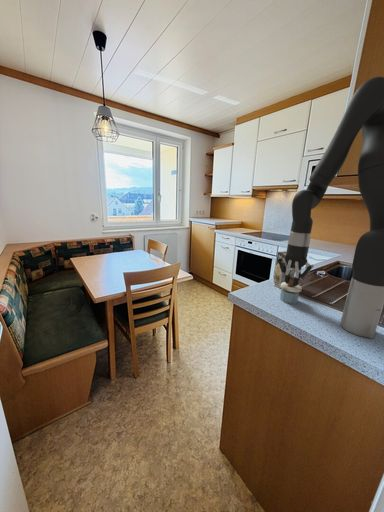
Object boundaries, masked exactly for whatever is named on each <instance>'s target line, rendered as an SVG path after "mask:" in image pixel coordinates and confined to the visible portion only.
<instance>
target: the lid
mask: <svg viewBox="0 0 384 512" xmlns="http://www.w3.org/2000/svg"><path fill="white" fill-rule="evenodd" d="M294 279H295V276H294V277H289V281H288V284H286V282H283V283H281V286H280V287H281V288H282V289H283V290H286V291H289V292H299V293H300V292H302V289H303V288H302V286H301V285H300V284H298V285H297V286H293V285H294ZM281 288H280V289H281Z"/></svg>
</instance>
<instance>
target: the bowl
mask: <svg viewBox="0 0 384 512" xmlns="http://www.w3.org/2000/svg"><path fill="white" fill-rule="evenodd" d="M280 289H281V290H280V297H279V300H281V301H282V302H283V303H286V304H288V305H289V304H290V305H296V304H297V303H298V301H299V295H300V292H289V291H286V290H283V289H282V288H280Z"/></svg>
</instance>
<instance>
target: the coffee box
mask: <svg viewBox="0 0 384 512" xmlns="http://www.w3.org/2000/svg"><path fill="white" fill-rule="evenodd" d="M286 252H287V251H277V254H276V262H275V269H274V273H273V274H274V275H273V283H274V284H275V286H277V288H278V289H281V287H280V286H281V283H283V282H285V276H286V274H285V273H282V272H281V268H280V265H279V262H278V259H280V258H285V256H286ZM285 266H286V268H287V263H286V261H285ZM295 274H296V272H295V269H294V268H293V269H292V270H291V273H290V275H291V277H294V278H295Z"/></svg>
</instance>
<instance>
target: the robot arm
mask: <svg viewBox="0 0 384 512" xmlns="http://www.w3.org/2000/svg"><path fill="white" fill-rule="evenodd" d="M360 131H361V134H362V135H361V136H362V146H361V152H360V153H359V154H360V155H359V158H358V165H357V180H358V190H359V193H360V196H361V198H362V201H363V202H364V205H365V207H366V209H367V212H368V216H369V217H368V218H369V231H367V232H364V234H362V235H361V236H360V237H359V238H358V240H357V243H356V246H355V250H354V254H353V260H352V265H351V270H352V276H351V279H350V283H349V288H348V291H347V295H346V299H345V303H344V308H343V311H342V314H341V317H340V323H339V325H340V327H341V328H342V329H344V330H345V331H347V332H349V333H351V334H353V335H355V336H359V337H363V338H369V339H374V337H375V334H376V331H377V328H378V325H379V321H380V318H381V314H382V312H383V309H384V76H374V77H372V78H369V79H367V80H366V81H365V82H363V83H362V84H361V85H360V86H359V87H358V88H357V89H356V90H355V92H354V93H353V95H352V97H351V99H350V100H349V103H348V105H347V108H346V109H345V112H344V114H343V116H342V118H341V121H340V122H339V125H338V127H337V129H336V131H335V133H334V135H333V137H332V139H331V140H330V142H329V145H328V147H327V148H326V150H325V152H324V153H323V155H322V156H321V158H320V159H319V161H318V163H317V164H316V165H315V166H314V167H315V168H314V169H313V170H312V172H311V174H310V176H309V183H308V186H307V187H306V189H304V190H299V191H298V192H297V193H295V195H294V197H293V198H292V203H291V215H292V222H291V228H290V233H289V236H288V240H287V248H286V251H285V252H286V256H285V258H280V259H278V262H279V265H280V268H281V272H282V273H285V274H286V276H285V282H286V284H288V281H289V277H291V275H290V273H291V270H292V269H293V268H294V269H295V274H294V278H295V279H294V285H293V286H297V285H300V280H301V279H304V278H305V277H306V276H308V274H309V273H310V272H311V271H312V270H313V269H314V267H315V266H314V264H310V263H309V262H308V253H309V250H310V249H309V248H310V243H311V235H312V229H313V223H314V222H313V221H314V220H313V218H312V217H311V216H312V210H313V209H315V208H316V207H317V206H318V205H319V204H320V203H321V202H322V199H323V197H324V196H325V194H326V192H327V189H328V187H329V186H330V184H331V183H332V181H333V180H334V179H335V177H336V175H337V174H338V173H339V172H340V170H341V169H342V167H343V165H344V163H345V161H346V159H347V157H348V154H349V152H350V150H351V147H352V145H353V144H354V140H355V139H356V137H357V135H358V134H359V132H360ZM285 261H286V263H287V268H286V266H285ZM304 266H305V269H304V271H303V272H302V269H303V267H304Z"/></svg>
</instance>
